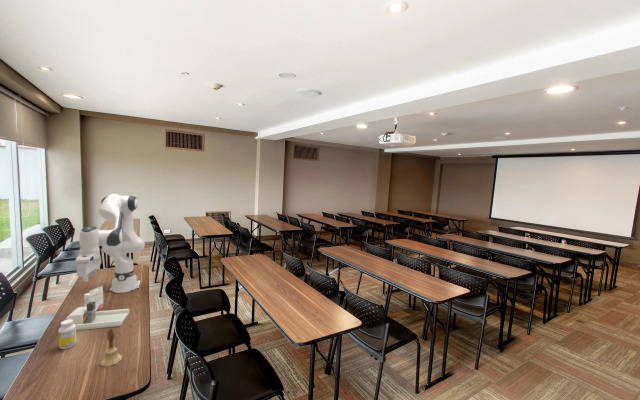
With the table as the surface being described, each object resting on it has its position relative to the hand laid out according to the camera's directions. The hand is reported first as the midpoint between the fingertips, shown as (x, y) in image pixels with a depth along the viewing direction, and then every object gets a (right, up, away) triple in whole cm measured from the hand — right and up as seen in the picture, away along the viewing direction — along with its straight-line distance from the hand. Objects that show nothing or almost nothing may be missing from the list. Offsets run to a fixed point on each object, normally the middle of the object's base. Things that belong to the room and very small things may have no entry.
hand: (90, 278), depth 158 cm
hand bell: (+34, -32, -28) cm, 54 cm away
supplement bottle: (+4, -29, -19) cm, 35 cm away
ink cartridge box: (-12, -25, +17) cm, 32 cm away
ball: (-5, -24, +1) cm, 24 cm away
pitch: (+2, -27, +4) cm, 27 cm away
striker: (-1, -25, +2) cm, 26 cm away
